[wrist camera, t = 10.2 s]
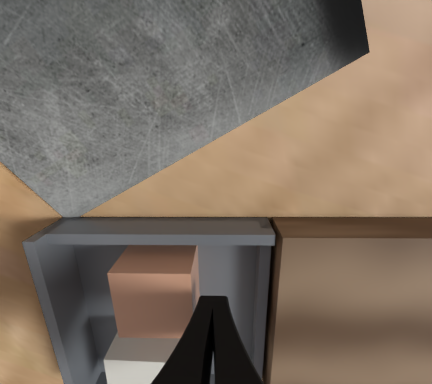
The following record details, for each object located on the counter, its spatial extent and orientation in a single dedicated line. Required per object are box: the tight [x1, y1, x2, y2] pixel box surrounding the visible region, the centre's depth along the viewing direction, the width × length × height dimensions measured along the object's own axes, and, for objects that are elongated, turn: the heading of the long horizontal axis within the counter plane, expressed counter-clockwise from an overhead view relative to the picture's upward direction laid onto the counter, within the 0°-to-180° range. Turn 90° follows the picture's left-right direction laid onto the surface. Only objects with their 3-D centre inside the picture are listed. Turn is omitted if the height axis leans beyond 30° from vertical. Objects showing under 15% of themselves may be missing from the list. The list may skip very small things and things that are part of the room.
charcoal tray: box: [22, 217, 275, 384], centre depth 14 cm, size 13×12×3 cm
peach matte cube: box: [107, 245, 200, 338], centre depth 13 cm, size 4×4×3 cm
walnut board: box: [262, 217, 432, 384], centre depth 14 cm, size 13×10×2 cm
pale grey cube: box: [104, 332, 180, 384], centre depth 14 cm, size 4×4×3 cm
